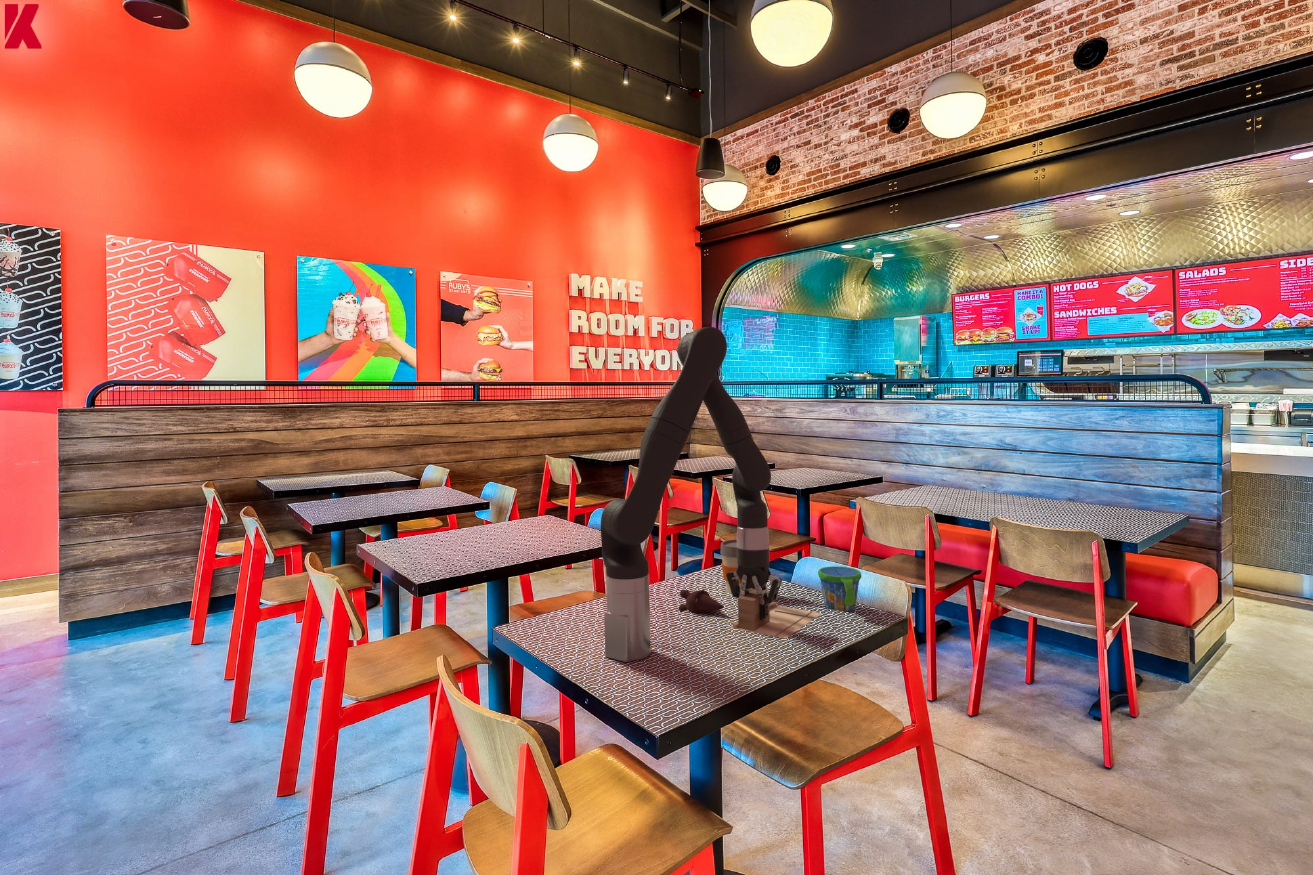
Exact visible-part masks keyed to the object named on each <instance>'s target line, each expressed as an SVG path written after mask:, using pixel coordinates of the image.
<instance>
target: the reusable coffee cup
mask: <svg viewBox="0 0 1313 875" xmlns="http://www.w3.org/2000/svg"><path fill="white" fill-rule="evenodd" d="M720 555H721V560H722V562H721V563H720V564H721V568H722V577H723V580H724V581H725V588H726V593H728V594H729V595H732V592H731V589H730V586H729V583H728V579H727V576H726V574H727V573H729V572H731V571H736V570H737V568H738V564H737V538H736V539H727V540H724V541H723V540H722V541H721V543H720ZM738 582H739V586H740V587H741V583H742V582H741V580H740V579H739V577H738ZM753 590H755V589H753V588H751V590H750V592H751V591H753Z"/></svg>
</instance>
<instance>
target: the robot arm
mask: <svg viewBox="0 0 1313 875" xmlns="http://www.w3.org/2000/svg"><path fill="white" fill-rule="evenodd" d="M676 349H677V351H676V352H677V357H678V359H679V362H680V363H681V366H682V368H681V370H680V373H679V375H678V376H677V379H676V380H675V382H674V383H673V385H672V386H671V388H670V389H669V390H668V392H666V394H664V396H663V398H662V399H661V401H659V403H658V404H657V406H656V408H655V409H654V411H653V413H652V415H651V417H650V419H649V420H648V423H647V426H646V428H645V431H644V433H643V435H642V438H641V441H640V448H639V460H638V467H637V468H638V469H637V473H636V477H635V480H634V482H633V484H632V487H631V489H630V491H629V493H628V495H627V497H626V498H616V499H614V500H611V501H610V502H608V503H607V505H605V507H604V508H603V510H602V514H601V516H600V540H601V541H600V542H601V555H602V556H601V557H602V561H603V563H604V566H605V576H606V578H605V579H606V580H605V581H606V582H605V583H606V611H605V612H604V613H603V618H604V619H603V620H604V621H603V623H604V624H603V625H604V654H605V655H604V657H606V658H610V659H613V660H616V661H620V662H625V663H628V662H631V661H638V660H641V659H645V658H647V657H649V656H650V655H651V653H652V652H651V650H652V648H651V646H652V645H651V644H652V643H651V642H652V641H651V611H650V610H651V608H650V604H651V603H650V570H649V569H650V567H649V561H648V559H647V557H646V556H645V554H644V552H643V548H642V545H641V544H643V543H644V542H646V540H647V539H648V538H649V537H650V535H651V533H652V532H653V529H654V526H655V523H656V521H657V517H658V514H659V510H660V507H661V504H662V502H663V498H664V495H665V493H666V489H667V487H668V484H669V482H670V480H671V477H672V475H673V472H674V470H675V468H676V466H677V463H678V461H679V458H680V456H681V454H682V452H683V450H684V448H685V446H686V443H687V440H688V438H689V436H690V433H691V431H692V428H693V426H694V423H695V421H696V419H697V417H698V414H699V411H700V408H701V406H702V404H703V403H704V405H705V407H706V409H707V411H708V414H709V415H710V417H711V419H712V422H713V424H714V427H715V429H716V432H717V434H718V437H719V439H720V441H721V443H722V446H723V448H724V450H725V452H726V454H727V455H728V456H730V457H731V458H732V459H733V461H734V462H735V464H736V465H735V466H734V468H733V470H732V476H731V479H732V480H731V482H732V488H733V493H734V494H733V495H734V500H735V502H736V503H735V504H736V508H737V510H736V511H737V512H736V515H737V517H736V520H737V521H736V522H737V528H736V539H737V564H738V568H737V570H736V571H731V572H729V573H727V574H726V576H727V579H728V583H729V586H730V589H731V592H732V594H731V595H732V597H733V598H737V599H738V598H739V597H741V596H743V595H745V594H747V593H749V592H750V590H751V588H753V589H755V590H756V594H757V595H758V597H759V601H760V605H759V609H760V620H765V619H766V617H768V603H769V604H770V603H772V602H776V600H777V598H778V595H779V591H780V588H781V586H782V582H783V580H782V578H781V577H776V576H774V575H772V573H771V570H770V543H771V542H770V535H769V526H768V525H769V523H768V520H769V519H768V515H769V514H768V506H767V503H765V501H764V500H763V499H762V495H761V494H762V493H761V492H762V491H764V490H766V489H767V488H768V487H769V486H770V484H771V481H772V473H771V468H770V466H769V463H768V461H767V459H766V458H765V455H763V453H762V451H761V449H760V448H759V447H758V445H757V444H756V442H755V440H754V438H753V436H752V433H751V429H750V427H749V424H748V422H747V420H746V418H745V416H744V413H743V412H742V411H741V409H740V407H739V406H738V404H737V403H736V401H735V400H734V399H733V398H732V396H731V395H730V394H729V393H728V391H727V390H726V388H725V387H724V385H723V383H722V381H721V379H720V378H719V375H718V372H719V370H720V368H721V366H722V364H723V362H724V361H725V359H726V355H727V350H728V342H727V338H726V336H725V334H724V333H723V332H722V330H720V329H719V328H717V327H715V326H704V327H700V328H697V329H695V330H693V331H690V332H688V333H686V334H684V335H683V336H682V337H681V339H680V340H679V341H678V344H677V348H676ZM738 577H739V579H740V580H741V582H742V583H741V587H740V586H739V582H738ZM768 582H769V585H770V589H769V590H768V586H767V583H768ZM767 592H769V594H768V593H767Z"/></svg>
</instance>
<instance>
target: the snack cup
mask: <svg viewBox="0 0 1313 875" xmlns="http://www.w3.org/2000/svg"><path fill="white" fill-rule="evenodd" d="M817 574H818V578H819V579H820V585H821V586H820V587H821V593H822V598H823V605H824V608H825V610H826V609H827V610H831V611H837V612H838V611H839V612H843V613H849V614H850V613H852V612H854V611H855V610H856V606H857V599H858V593H859V584H860V583H859V582H860V580H861V579H862V573H861V571H860V570H858V569H857V568H853V567H848V566H837V565H836V566H827V567H826V566H825V567H822V568H820V569H818V571H817Z"/></svg>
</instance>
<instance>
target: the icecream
mask: <svg viewBox="0 0 1313 875" xmlns="http://www.w3.org/2000/svg"><path fill="white" fill-rule="evenodd" d="M679 595H680V597H681V598H682V599H684V600H685V603H681V604H680V605H679V606H678V611H679V612H680V613H683V612H685V611H687V610H688V611H689V612H690V613H693V614H695V615H696V614H707V613H712V612H716V611H718V610H722V609H724V608H725V606H724V605H723V604H722V603H720V602H719V601H717V600H716V599H714V598H713V597H711V594H710V593H709V592H708V591H706V590H704V589H700V590H693V591H692V592H690V590H689V589H681V590H680V592H679Z"/></svg>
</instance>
